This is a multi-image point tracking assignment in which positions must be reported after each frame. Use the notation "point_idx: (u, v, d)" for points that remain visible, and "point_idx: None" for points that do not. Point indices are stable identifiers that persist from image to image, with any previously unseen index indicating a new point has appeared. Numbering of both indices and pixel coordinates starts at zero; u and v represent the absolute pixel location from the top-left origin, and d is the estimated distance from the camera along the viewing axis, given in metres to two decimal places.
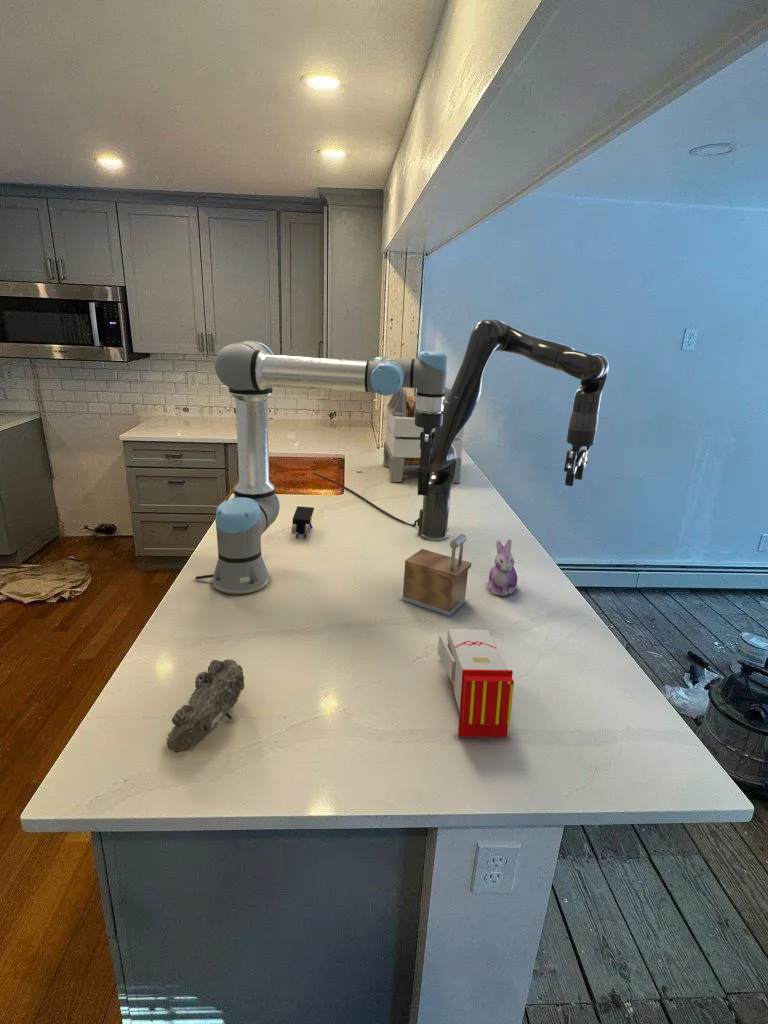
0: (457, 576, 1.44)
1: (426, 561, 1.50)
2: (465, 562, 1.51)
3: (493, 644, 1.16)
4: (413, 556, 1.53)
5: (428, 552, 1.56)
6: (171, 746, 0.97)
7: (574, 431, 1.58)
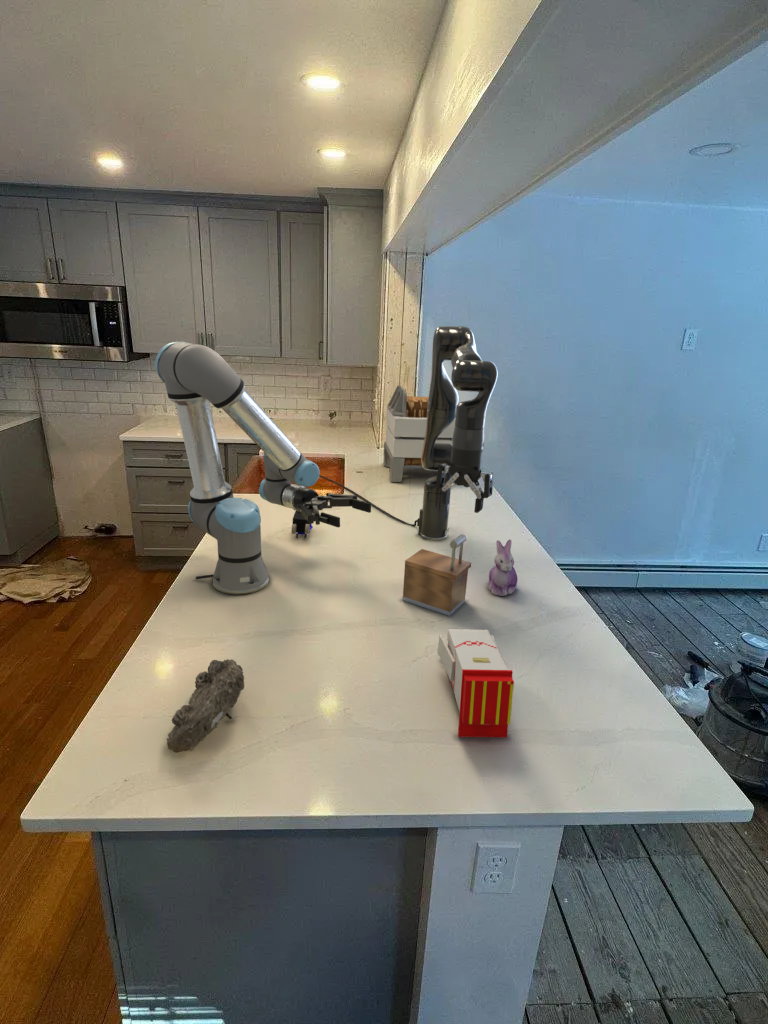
0: (457, 576, 1.44)
1: (426, 561, 1.50)
2: (465, 562, 1.51)
3: (493, 644, 1.16)
4: (413, 556, 1.53)
5: (428, 552, 1.56)
6: (171, 746, 0.97)
7: (479, 451, 1.35)
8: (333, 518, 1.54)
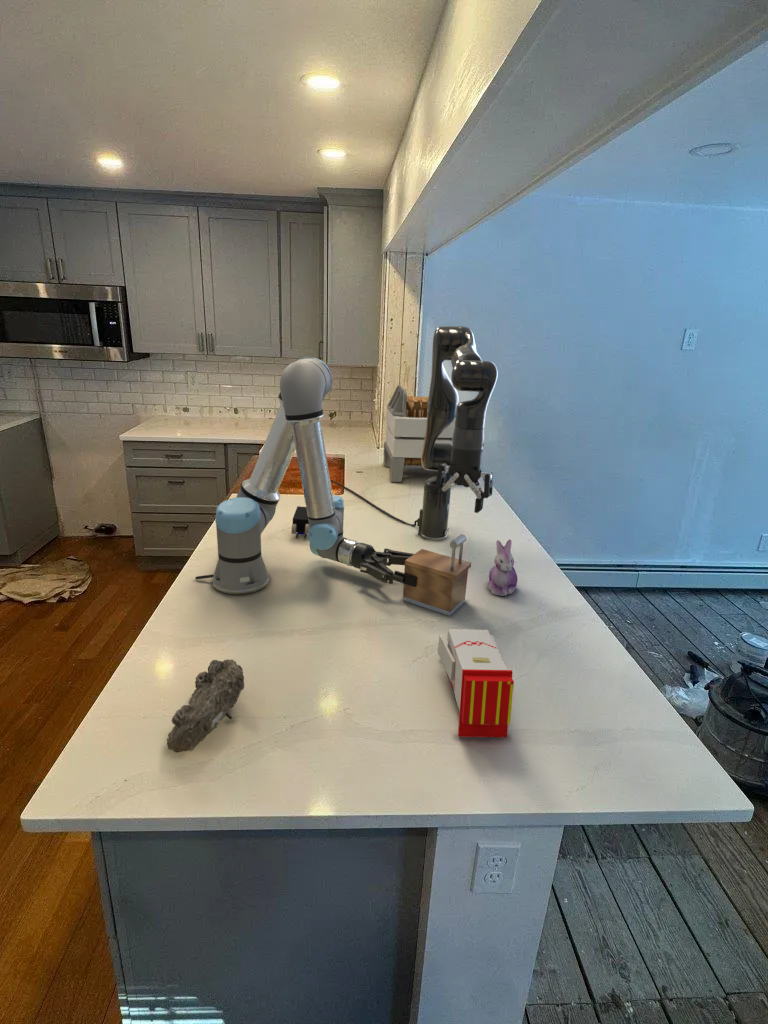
0: (457, 576, 1.44)
1: (426, 561, 1.50)
2: (465, 562, 1.51)
3: (493, 644, 1.16)
4: (413, 556, 1.53)
5: (428, 552, 1.56)
6: (171, 746, 0.97)
7: (479, 451, 1.35)
8: (409, 577, 1.50)
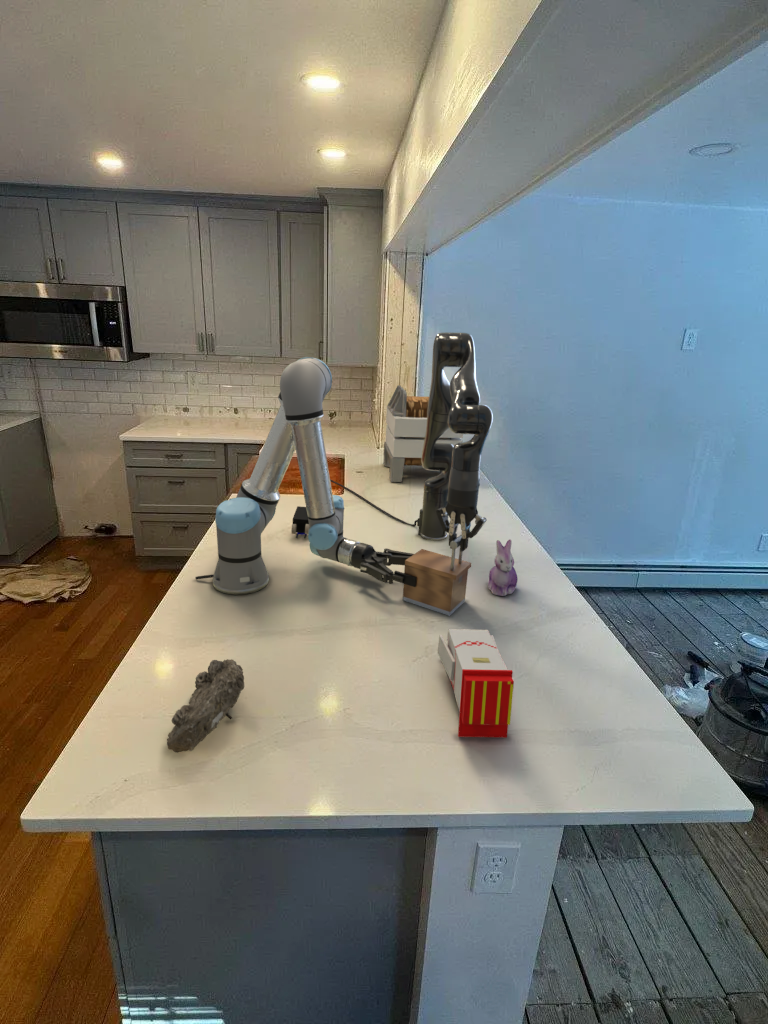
0: (457, 576, 1.44)
1: (426, 561, 1.50)
2: (465, 562, 1.51)
3: (493, 644, 1.16)
4: (413, 556, 1.53)
5: (428, 552, 1.56)
6: (171, 746, 0.97)
7: (475, 492, 1.38)
8: (409, 577, 1.50)
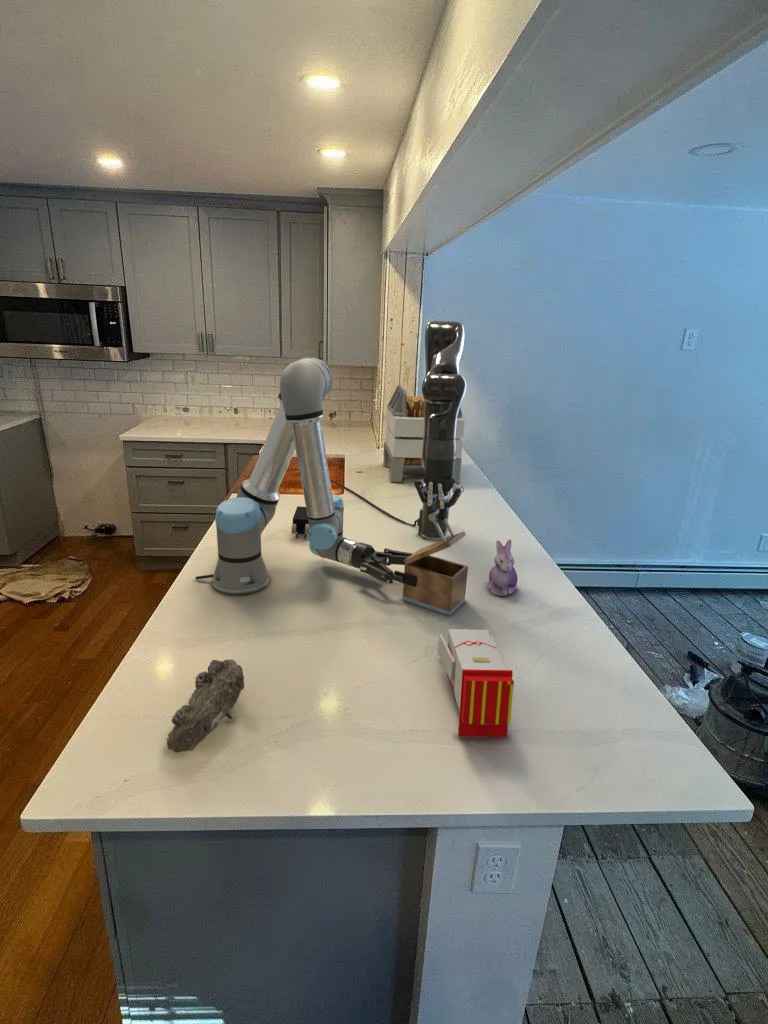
0: (450, 543, 1.43)
1: (423, 550, 1.50)
2: (458, 533, 1.50)
3: (493, 644, 1.16)
4: (411, 555, 1.53)
5: (426, 547, 1.56)
6: (171, 746, 0.97)
7: (451, 461, 1.40)
8: (409, 577, 1.50)
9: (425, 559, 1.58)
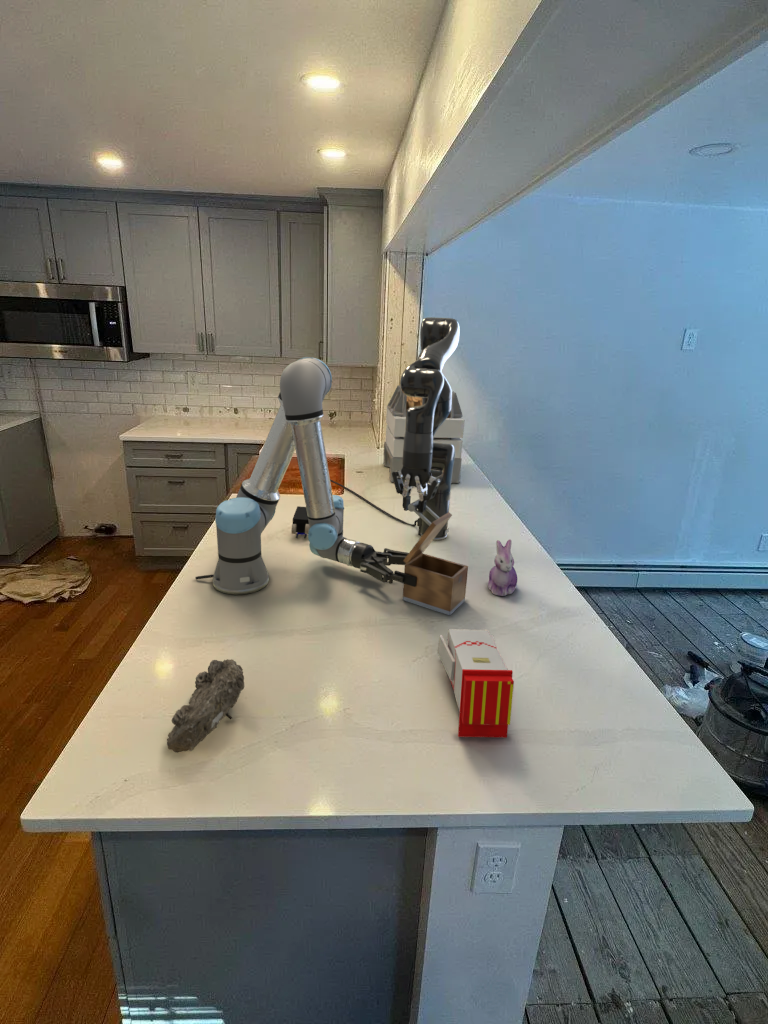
0: (435, 522, 1.43)
1: None
2: None
3: (493, 644, 1.16)
4: None
5: None
6: (171, 746, 0.97)
7: (428, 454, 1.43)
8: (409, 577, 1.50)
9: (425, 559, 1.58)
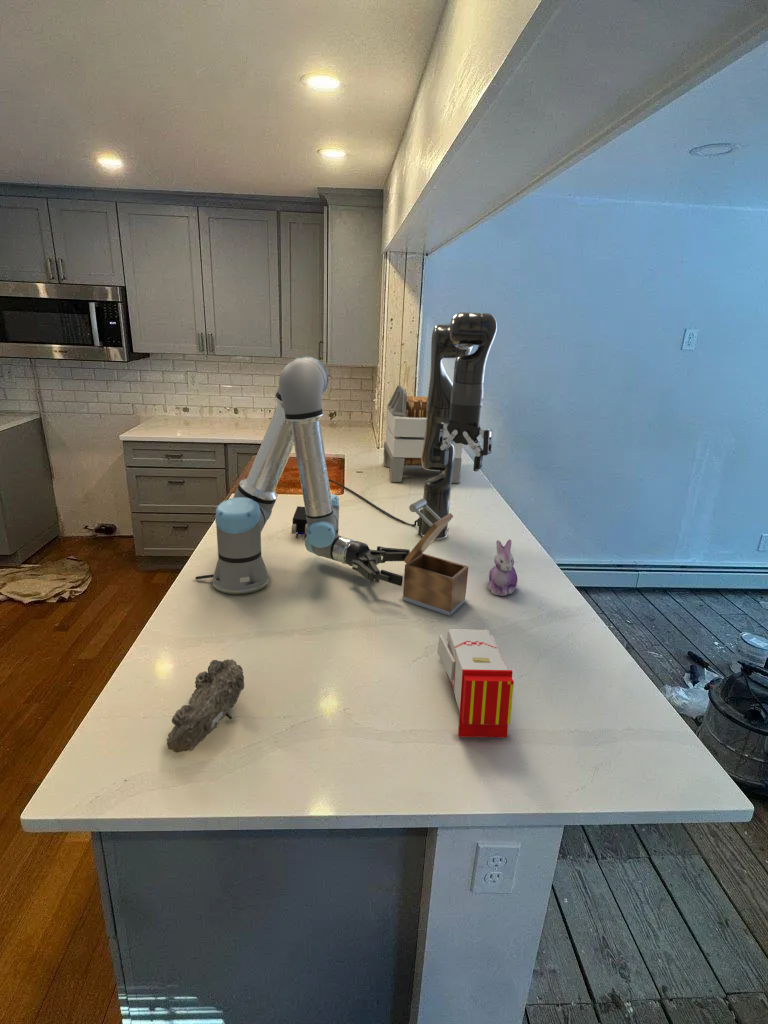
0: (436, 523, 1.43)
1: None
2: None
3: (493, 644, 1.16)
4: None
5: None
6: (171, 746, 0.97)
7: (478, 407, 1.32)
8: (395, 576, 1.51)
9: (425, 559, 1.58)
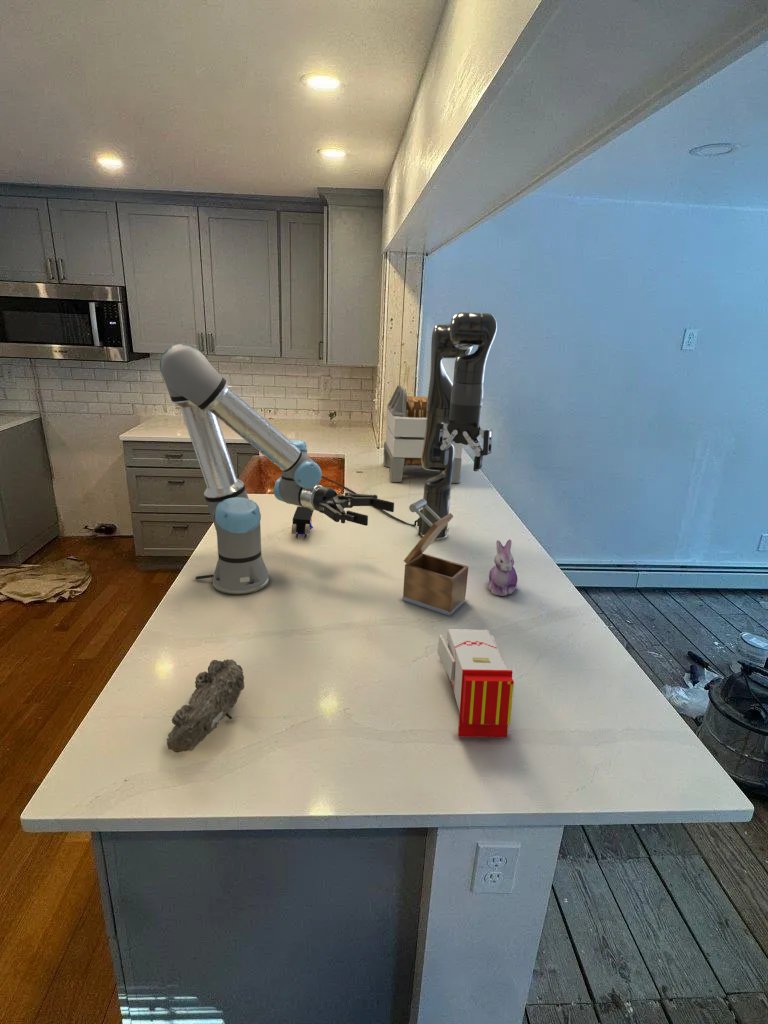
0: (436, 523, 1.43)
1: None
2: None
3: (493, 644, 1.16)
4: None
5: None
6: (171, 746, 0.97)
7: (478, 407, 1.32)
8: (361, 516, 1.51)
9: (425, 559, 1.58)
